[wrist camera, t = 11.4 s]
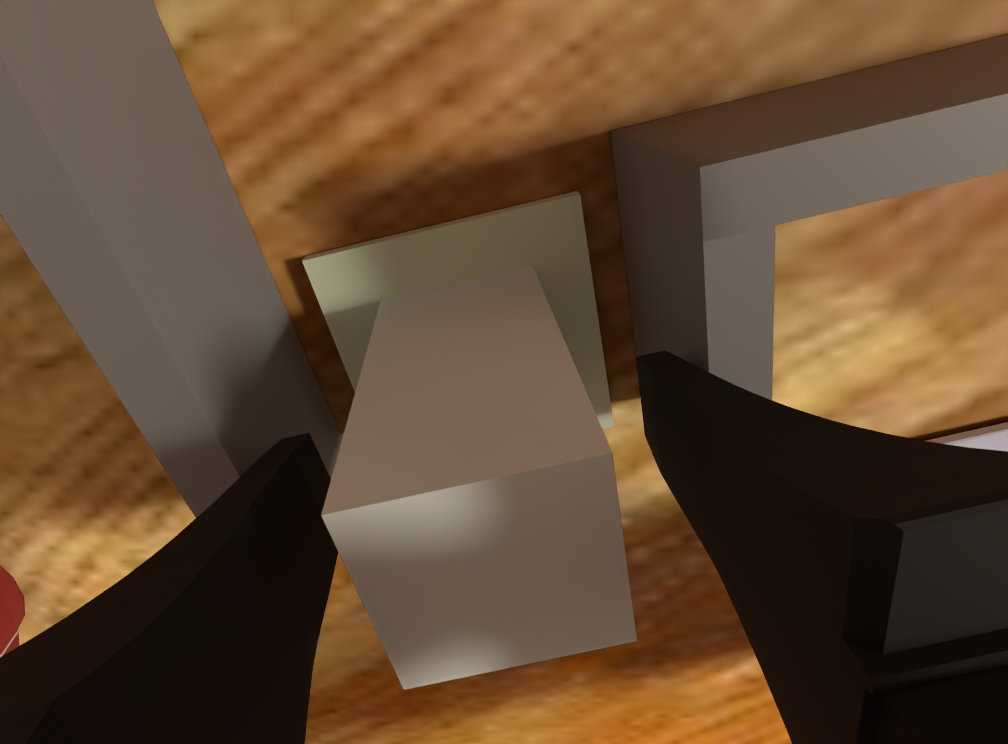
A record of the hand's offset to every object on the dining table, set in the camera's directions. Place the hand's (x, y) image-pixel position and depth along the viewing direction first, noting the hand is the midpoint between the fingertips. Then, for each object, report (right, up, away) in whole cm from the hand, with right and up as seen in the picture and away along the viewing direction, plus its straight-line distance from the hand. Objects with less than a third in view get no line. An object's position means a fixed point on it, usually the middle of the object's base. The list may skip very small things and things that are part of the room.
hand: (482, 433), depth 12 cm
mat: (0, +2, +4) cm, 4 cm away
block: (0, +2, +3) cm, 4 cm away
